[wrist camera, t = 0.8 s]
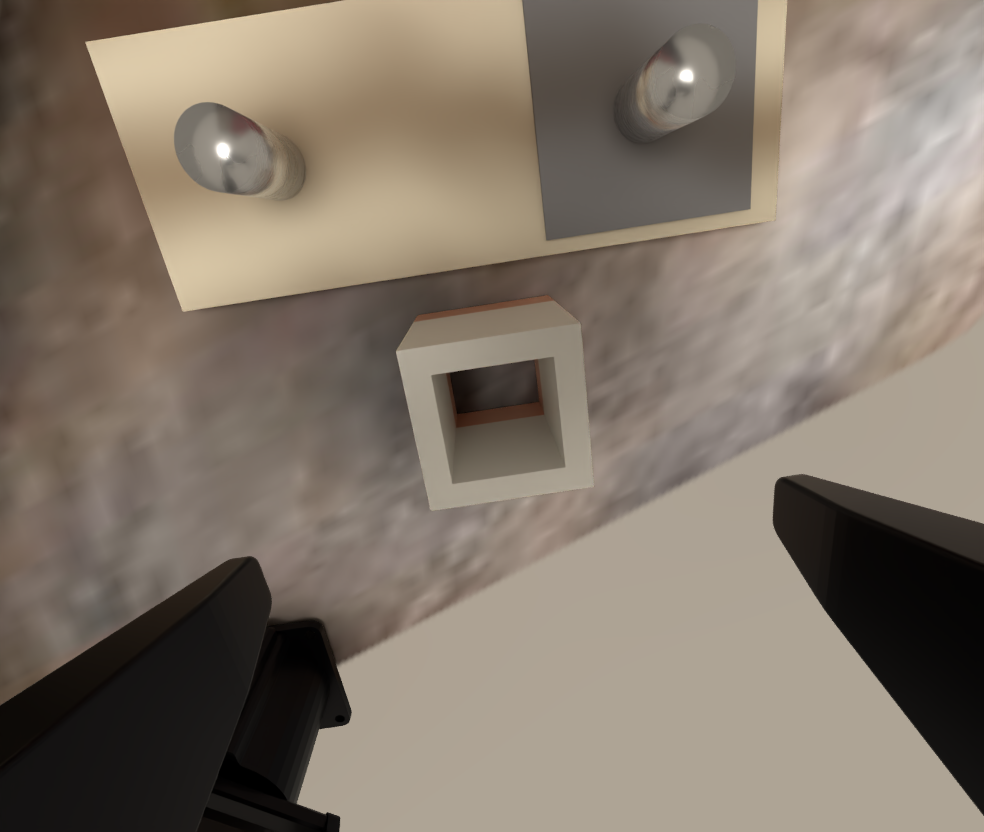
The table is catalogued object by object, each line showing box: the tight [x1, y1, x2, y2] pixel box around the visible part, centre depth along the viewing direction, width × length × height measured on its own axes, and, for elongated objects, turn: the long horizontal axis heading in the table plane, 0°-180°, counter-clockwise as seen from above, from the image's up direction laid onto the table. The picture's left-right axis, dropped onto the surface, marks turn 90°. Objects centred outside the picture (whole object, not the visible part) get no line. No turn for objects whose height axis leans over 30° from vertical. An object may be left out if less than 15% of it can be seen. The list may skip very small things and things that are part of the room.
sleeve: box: [396, 295, 594, 511], centre depth 17 cm, size 5×5×6 cm
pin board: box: [86, 0, 787, 311], centre depth 16 cm, size 8×21×1 cm, turn 98°
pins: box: [174, 24, 736, 201], centre depth 14 cm, size 2×14×4 cm, turn 98°
